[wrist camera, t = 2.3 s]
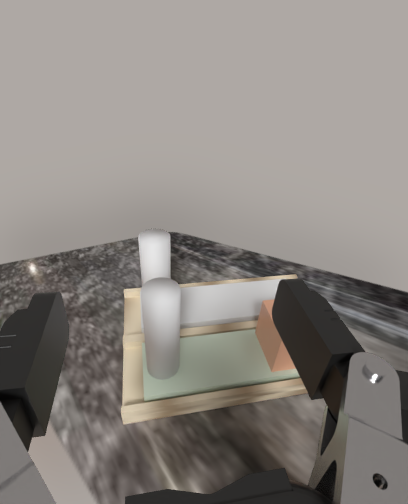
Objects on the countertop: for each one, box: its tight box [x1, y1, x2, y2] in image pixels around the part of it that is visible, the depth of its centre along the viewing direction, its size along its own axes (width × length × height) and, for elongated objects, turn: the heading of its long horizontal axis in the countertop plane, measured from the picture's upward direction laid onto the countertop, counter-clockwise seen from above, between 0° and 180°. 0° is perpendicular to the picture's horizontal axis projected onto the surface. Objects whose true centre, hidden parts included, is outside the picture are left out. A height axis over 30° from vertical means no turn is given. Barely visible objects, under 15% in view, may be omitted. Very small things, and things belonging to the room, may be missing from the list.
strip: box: [138, 229, 286, 333], centre depth 35 cm, size 20×6×11 cm, turn 101°
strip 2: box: [141, 277, 300, 403], centre depth 29 cm, size 20×6×11 cm, turn 101°
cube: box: [255, 299, 296, 372], centre depth 31 cm, size 5×5×5 cm
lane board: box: [121, 274, 308, 424], centre depth 36 cm, size 24×16×2 cm, turn 101°
